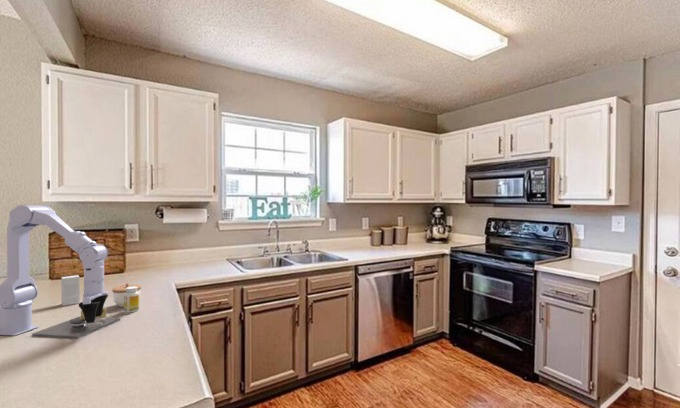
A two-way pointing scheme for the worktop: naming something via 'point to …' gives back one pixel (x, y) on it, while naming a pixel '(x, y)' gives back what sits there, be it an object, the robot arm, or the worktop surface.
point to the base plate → (75, 328)
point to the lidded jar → (122, 293)
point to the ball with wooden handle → (82, 318)
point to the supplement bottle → (131, 300)
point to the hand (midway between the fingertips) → (93, 319)
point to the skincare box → (70, 290)
